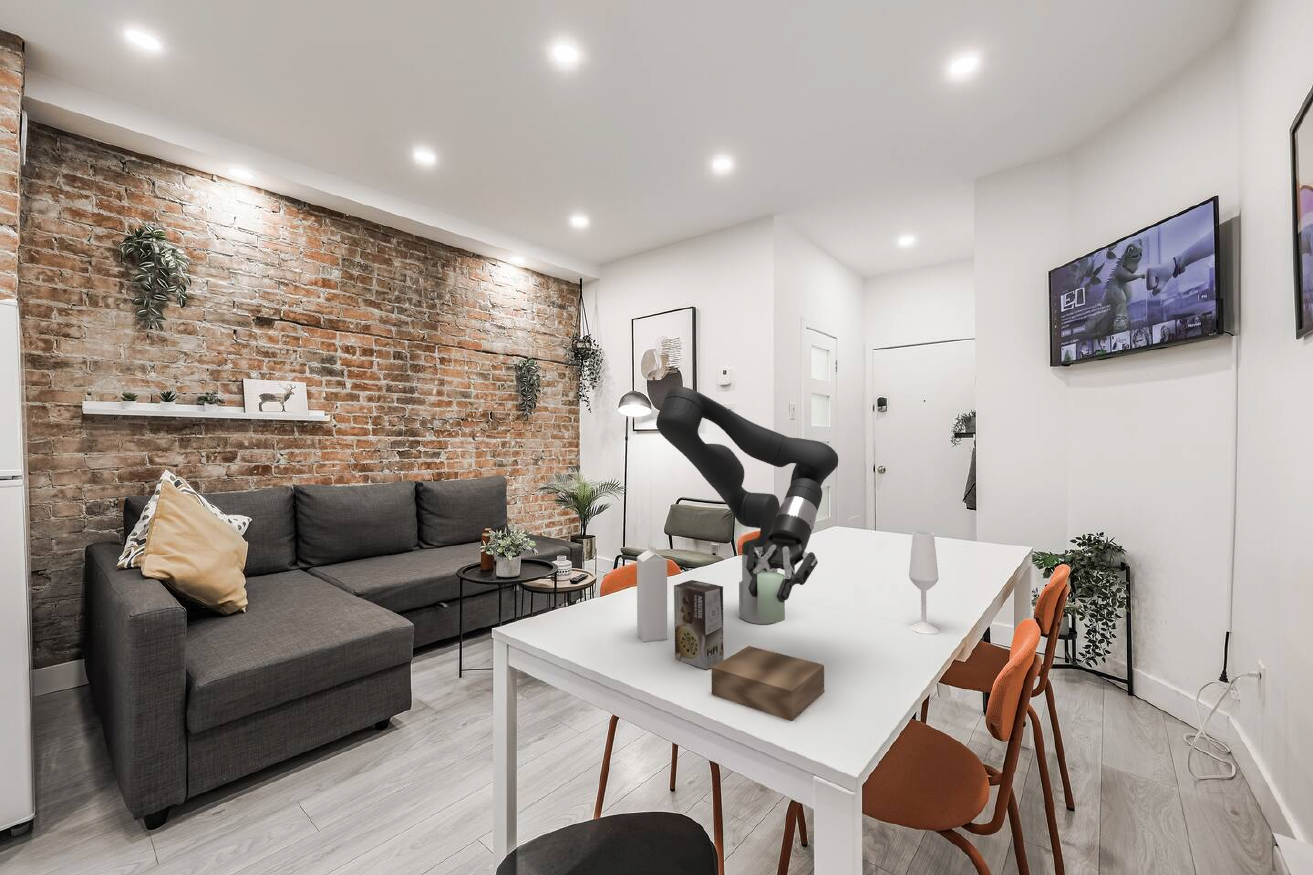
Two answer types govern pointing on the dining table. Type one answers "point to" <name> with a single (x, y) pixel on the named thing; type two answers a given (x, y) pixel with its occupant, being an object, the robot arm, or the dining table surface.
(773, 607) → the sage cylinder
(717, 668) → the walnut base
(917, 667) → the dining table surface
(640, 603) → the milk
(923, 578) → the champagne flute
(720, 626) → the coffee box
